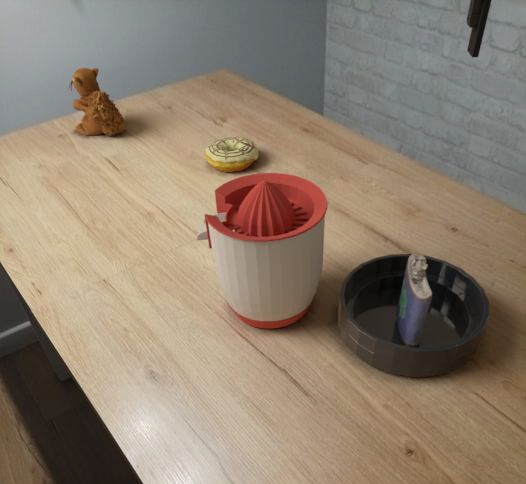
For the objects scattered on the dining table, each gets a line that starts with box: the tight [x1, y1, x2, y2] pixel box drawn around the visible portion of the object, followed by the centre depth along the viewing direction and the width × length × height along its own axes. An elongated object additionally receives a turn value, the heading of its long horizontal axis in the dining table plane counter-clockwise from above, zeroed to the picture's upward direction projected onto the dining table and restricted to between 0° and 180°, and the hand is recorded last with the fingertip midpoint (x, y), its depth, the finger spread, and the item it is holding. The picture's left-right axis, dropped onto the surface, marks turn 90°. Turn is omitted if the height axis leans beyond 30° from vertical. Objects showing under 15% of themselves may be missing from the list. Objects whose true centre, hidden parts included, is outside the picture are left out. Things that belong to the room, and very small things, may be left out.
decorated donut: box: [204, 136, 260, 173], centre depth 106 cm, size 10×11×4 cm
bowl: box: [337, 253, 490, 378], centre depth 71 cm, size 19×19×6 cm
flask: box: [396, 253, 432, 347], centre depth 68 cm, size 9×3×11 cm, turn 175°
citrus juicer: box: [196, 172, 328, 329], centre depth 70 cm, size 16×17×20 cm
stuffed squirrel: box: [68, 67, 127, 137], centre depth 116 cm, size 10×14×13 cm
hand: (523, 51), depth 69 cm, fingers open, 13 cm apart
